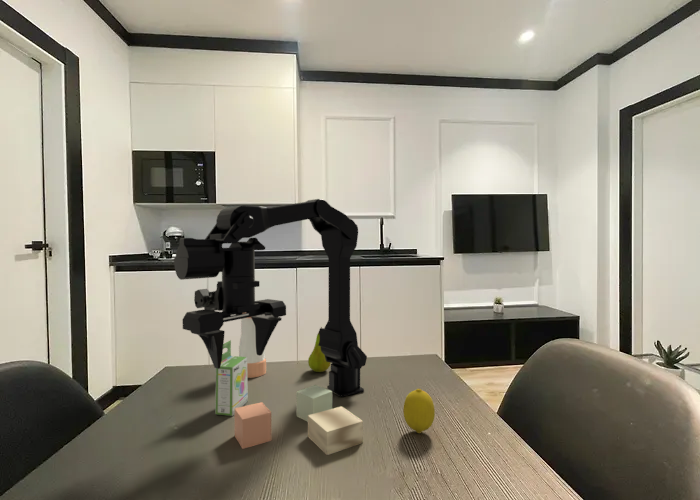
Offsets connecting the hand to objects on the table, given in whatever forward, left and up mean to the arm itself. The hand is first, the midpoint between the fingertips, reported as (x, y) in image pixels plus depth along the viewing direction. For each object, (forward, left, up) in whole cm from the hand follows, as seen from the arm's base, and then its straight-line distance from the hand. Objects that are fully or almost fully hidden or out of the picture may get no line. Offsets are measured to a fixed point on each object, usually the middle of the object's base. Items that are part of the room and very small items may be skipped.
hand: (239, 361), depth 68 cm
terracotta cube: (-1, +4, -13) cm, 13 cm away
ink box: (-1, -10, -13) cm, 16 cm away
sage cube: (-14, +2, -13) cm, 19 cm away
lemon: (-27, +18, -13) cm, 35 cm away
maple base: (-13, +12, -13) cm, 22 cm away
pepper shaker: (-11, -29, -13) cm, 34 cm away
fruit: (-27, -21, -13) cm, 37 cm away
